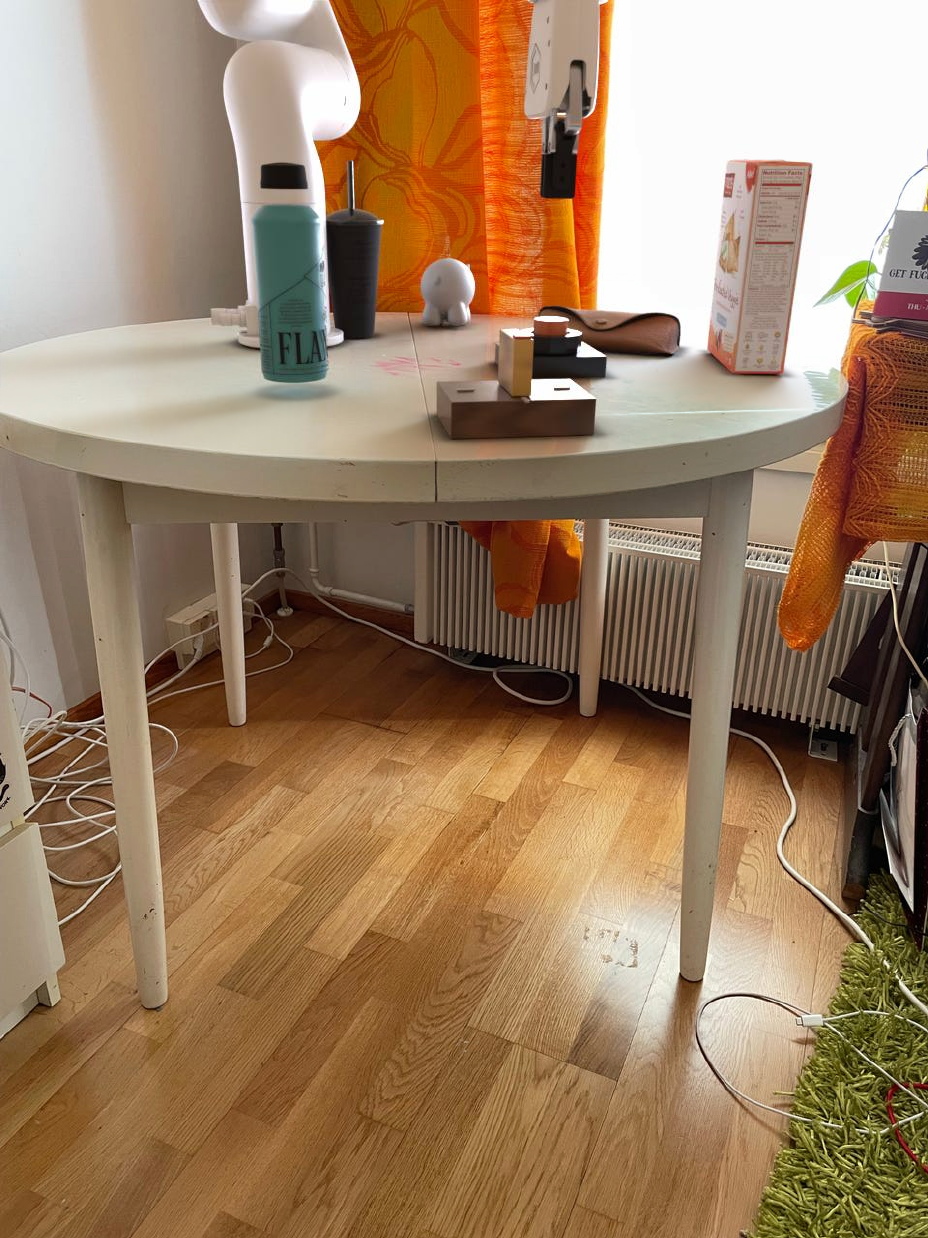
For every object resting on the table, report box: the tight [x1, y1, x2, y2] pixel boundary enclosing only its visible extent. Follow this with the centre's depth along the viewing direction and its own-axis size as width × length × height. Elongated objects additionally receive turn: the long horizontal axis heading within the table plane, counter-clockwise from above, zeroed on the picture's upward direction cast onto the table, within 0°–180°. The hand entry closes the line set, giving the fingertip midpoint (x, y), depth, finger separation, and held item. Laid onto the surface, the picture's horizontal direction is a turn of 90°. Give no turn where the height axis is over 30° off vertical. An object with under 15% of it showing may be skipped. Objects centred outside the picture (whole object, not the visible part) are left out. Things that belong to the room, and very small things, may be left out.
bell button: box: [533, 316, 568, 336], centre depth 104 cm, size 4×4×2 cm
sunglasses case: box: [537, 305, 682, 355], centre depth 119 cm, size 18×7×7 cm
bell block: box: [494, 327, 608, 380], centre depth 105 cm, size 10×9×4 cm
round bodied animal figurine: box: [420, 257, 476, 327], centre depth 134 cm, size 7×12×8 cm, turn 165°
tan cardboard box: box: [497, 328, 534, 396], centre depth 82 cm, size 6×2×5 cm, turn 11°
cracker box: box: [706, 158, 814, 375], centre depth 107 cm, size 14×6×21 cm, turn 178°
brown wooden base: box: [436, 378, 597, 440], centre depth 84 cm, size 12×10×3 cm
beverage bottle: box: [251, 162, 330, 384], centre depth 91 cm, size 6×7×20 cm
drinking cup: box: [326, 160, 385, 340], centre depth 120 cm, size 8×8×20 cm
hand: (557, 197), depth 99 cm, fingers closed
